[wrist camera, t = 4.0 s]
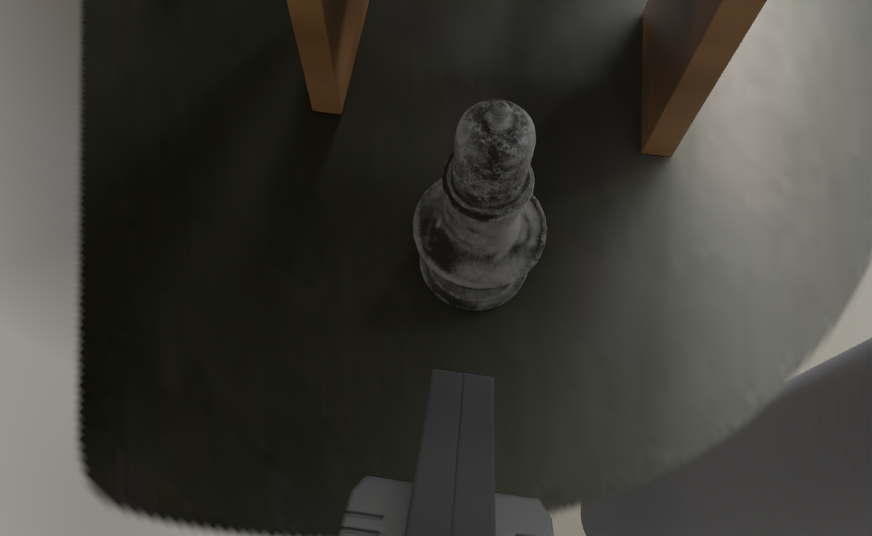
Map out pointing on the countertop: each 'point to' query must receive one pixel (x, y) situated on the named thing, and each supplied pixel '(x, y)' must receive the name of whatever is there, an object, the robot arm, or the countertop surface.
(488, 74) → the countertop surface
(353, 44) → the desk
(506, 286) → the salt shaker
